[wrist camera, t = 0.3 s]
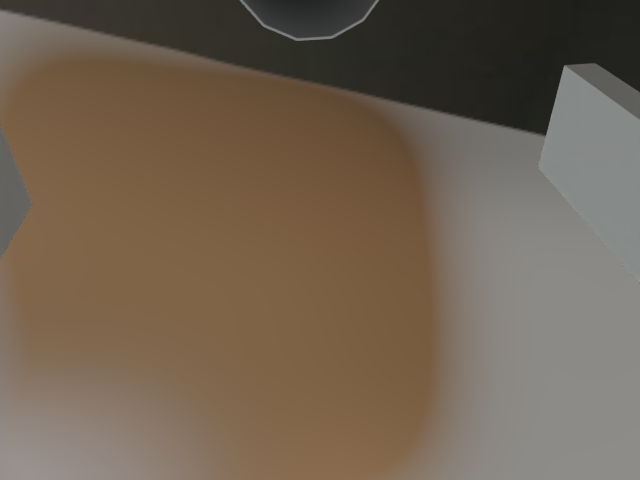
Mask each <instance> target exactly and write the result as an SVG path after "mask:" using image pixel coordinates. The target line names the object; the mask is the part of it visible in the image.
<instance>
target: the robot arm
mask: <svg viewBox="0 0 640 480" xmlns="http://www.w3.org/2000/svg"><path fill="white" fill-rule="evenodd" d="M538 168H539V169H540V170H541V171H542V173H543V174H544V175H545V176H546V177H547V178H548V179H549V181H550V182H551V183H552V184H553V185H554V186H555V187H556V189H557V190H558V191H559V192H560V193H561V194H562V195H563V196H564V197H565V199H566V200H567V201H568V202H569V203H570V204H571V206H572V207H573V208H574V209H575V210H576V211H577V212H578V214H579V215H580V216H581V217H582V218H583V219H584V221H585V222H586V223H587V224H588V225H589V226H590V227H591V229H592V230H593V231H594V232H595V233H596V234H597V235H598V237H599V238H600V239H601V240H602V241H603V242H604V243H605V244H606V246H607V247H608V248H609V249H610V250H611V251H612V252H613V254H614V255H615V256H616V257H617V258H618V259H619V260H620V262H621V263H622V264H623V265H624V266H625V267H626V268H627V269H628V271H629V272H630V273H631V274H632V275H633V276H634V278H635V279H636V280H637V281H638V282H639V283H640V92H638V91H637V90H635V89H633V88H632V87H630V86H629V85H627V84H626V83H624V82H623V81H621V80H620V79H618V78H617V77H615V76H614V75H612V74H611V73H609V72H608V71H606V70H604V69H603V68H601V67H600V66H598V65H597V64H579V65H564V69H563V73H562V77H561V81H560V85H559V88H558V92H557V96H556V100H555V104H554V108H553V112H552V115H551V119H550V123H549V127H548V131H547V135H546V139H545V142H544V147H543V151H542V154H541V158H540V162H539V166H538ZM31 206H32V201H31V199H30V196H29V194H28V192H27V189H26V187H25V184H24V182H23V179H22V177H21V175H20V172H19V170H18V167H17V165H16V163H15V160H14V157H13V155H12V153H11V150H10V148H9V146H8V143H7V140H6V138H5V136H4V133H3V131H2V128H1V126H0V259H1V257H2V255H3V253H4V252H5V250H6V248H7V247H8V245H9V243H10V241H11V240H12V238H13V236H14V234H15V233H16V231H17V230H18V228H19V226H20V224H21V223H22V221H23V219H24V218H25V216H26V214H27V212H28V211H29V209H30V207H31Z"/></svg>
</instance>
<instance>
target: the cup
mask: <svg viewBox="0 0 640 480" xmlns="http://www.w3.org/2000/svg"><path fill="white" fill-rule="evenodd" d="M240 1H241V2H242V3H243V4H244V6H245V7H246V8H247V9H248V10H249V11H250V12H251V13H252V14H253V16H254V17H255V18H256V19H257V20H258V21H259V22H260V23H261V25H262V26H263V27H265V28H268V29H270V30H273V31H275V32H277V33H280V34H282V35H284V36H287V37H289V38H291V39H294V40H296V41H301V40H317V39H332V38H334V37H336V36H337V35H339V34H341V33H343V32H345V31H346V30H348V29H350V28H352V27H354V26H355V25H357V24H359V23H361V22H362V21H364V20H365V18H366V17H367V16H368V14H369V13H370V12H371V10H372V9H373V8H374V6H375V5H376V4H377V2H378V1H379V0H240Z"/></svg>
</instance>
